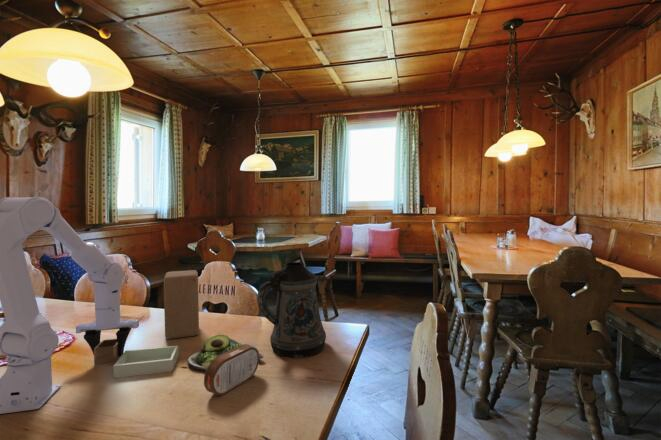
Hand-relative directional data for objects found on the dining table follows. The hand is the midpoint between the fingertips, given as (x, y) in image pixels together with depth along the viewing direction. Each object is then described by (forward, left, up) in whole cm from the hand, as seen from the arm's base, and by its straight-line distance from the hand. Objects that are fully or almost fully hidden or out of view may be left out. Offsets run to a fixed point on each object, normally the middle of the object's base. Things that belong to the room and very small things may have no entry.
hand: (109, 356), depth 94 cm
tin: (-22, -33, -2) cm, 40 cm away
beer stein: (-5, -50, -2) cm, 50 cm away
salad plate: (-6, -30, -2) cm, 31 cm away
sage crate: (-6, -11, -1) cm, 13 cm away
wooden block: (+17, -16, -2) cm, 23 cm away
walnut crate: (0, 0, -1) cm, 1 cm away
